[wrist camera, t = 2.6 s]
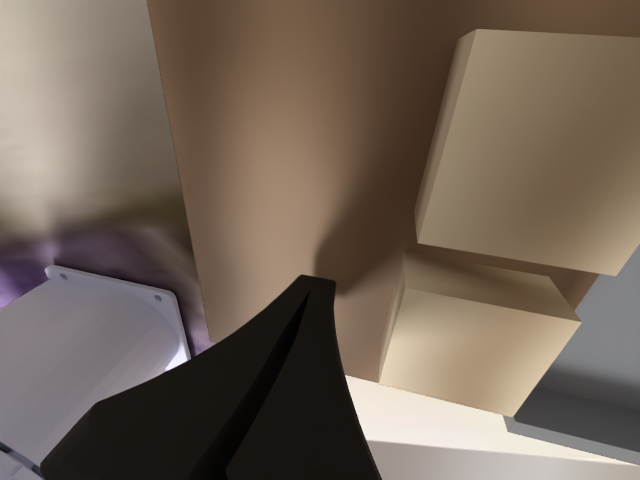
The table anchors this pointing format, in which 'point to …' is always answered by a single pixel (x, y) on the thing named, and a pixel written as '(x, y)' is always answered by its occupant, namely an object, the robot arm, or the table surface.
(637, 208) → the tile
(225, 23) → the walnut board
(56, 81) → the table surface
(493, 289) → the tile
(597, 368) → the slate bin
